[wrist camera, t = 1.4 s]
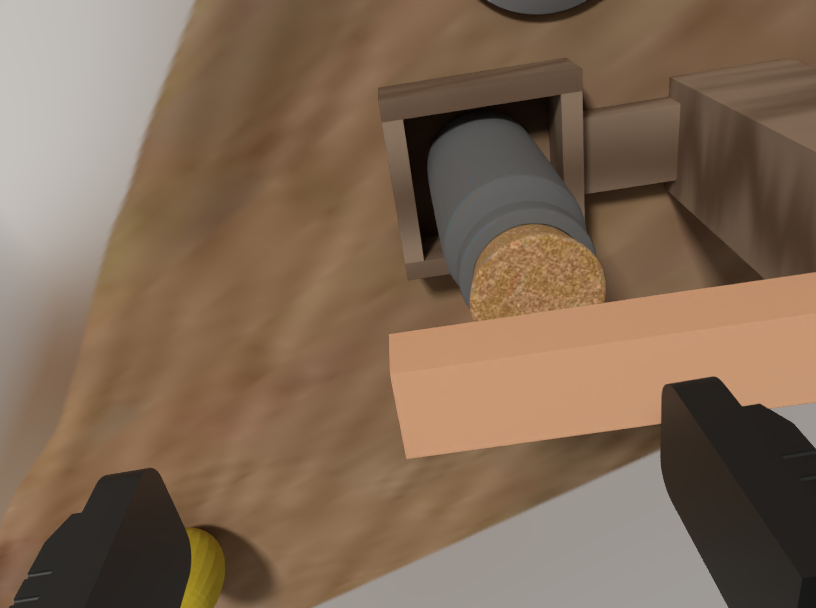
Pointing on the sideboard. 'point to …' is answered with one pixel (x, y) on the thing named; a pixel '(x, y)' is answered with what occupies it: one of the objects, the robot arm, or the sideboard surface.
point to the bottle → (508, 221)
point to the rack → (651, 150)
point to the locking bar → (601, 364)
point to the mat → (536, 5)
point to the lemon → (204, 570)
